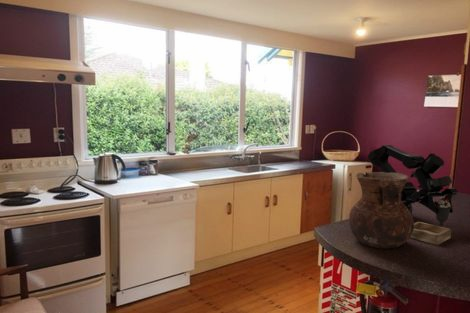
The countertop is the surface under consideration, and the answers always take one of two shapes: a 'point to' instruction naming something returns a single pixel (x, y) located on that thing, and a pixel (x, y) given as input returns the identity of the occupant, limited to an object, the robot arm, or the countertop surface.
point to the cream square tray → (430, 233)
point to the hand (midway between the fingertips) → (444, 213)
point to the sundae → (442, 210)
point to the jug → (381, 211)
